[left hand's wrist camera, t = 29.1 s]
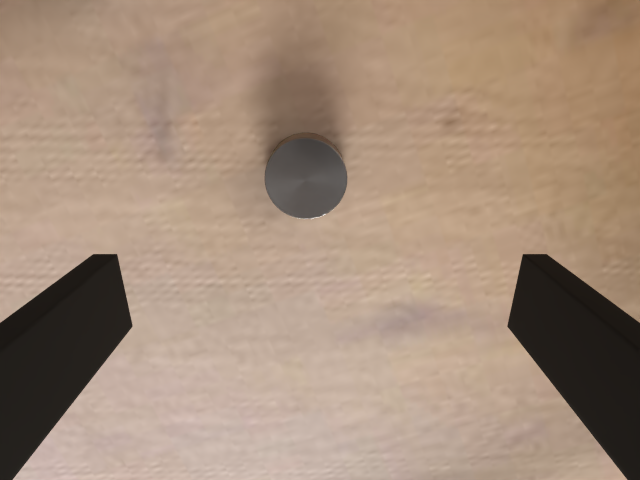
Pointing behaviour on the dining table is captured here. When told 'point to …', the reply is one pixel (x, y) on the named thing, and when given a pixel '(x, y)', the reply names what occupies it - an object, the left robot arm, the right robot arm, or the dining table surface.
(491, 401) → the dining table surface
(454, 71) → the dining table surface
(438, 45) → the dining table surface
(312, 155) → the lid
